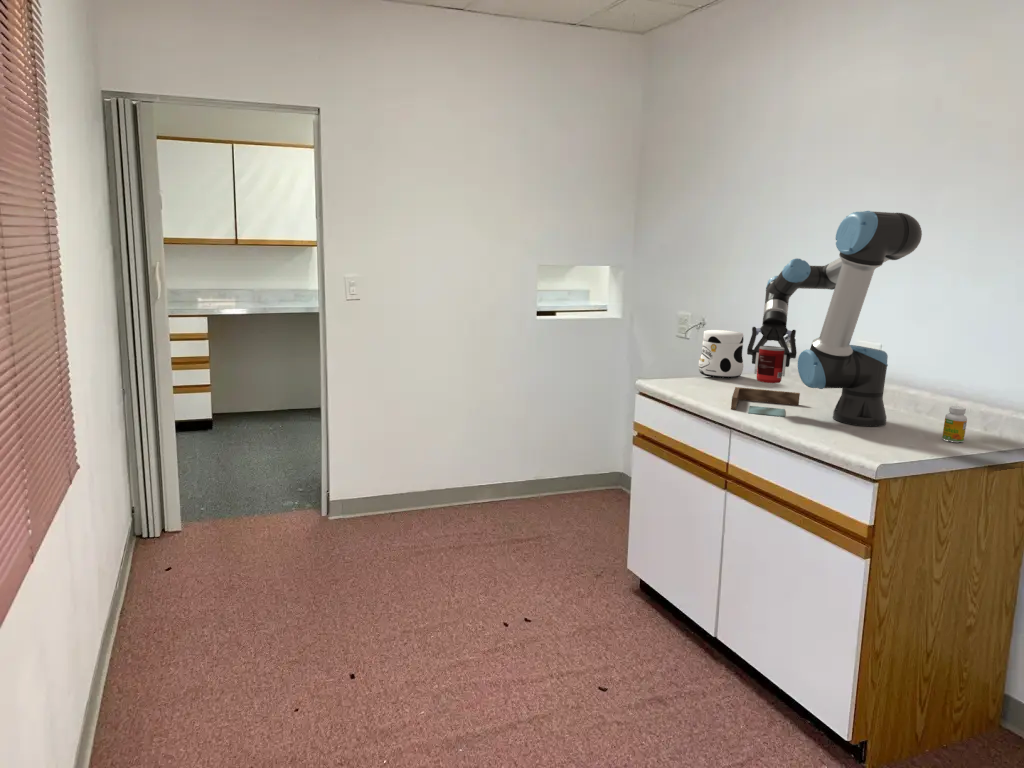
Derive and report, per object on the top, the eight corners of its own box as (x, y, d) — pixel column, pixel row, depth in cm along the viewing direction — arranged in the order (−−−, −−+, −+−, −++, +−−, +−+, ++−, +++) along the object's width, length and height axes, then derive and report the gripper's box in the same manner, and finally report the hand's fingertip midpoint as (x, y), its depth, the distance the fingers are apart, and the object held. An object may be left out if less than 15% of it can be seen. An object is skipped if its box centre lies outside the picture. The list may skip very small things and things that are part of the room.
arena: (798, 404, 259) (799, 392, 258) (799, 418, 238) (801, 406, 237) (734, 398, 265) (735, 386, 264) (730, 411, 244) (731, 399, 244)
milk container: (689, 375, 307) (692, 331, 303) (713, 371, 318) (717, 328, 315) (726, 382, 294) (730, 336, 291) (750, 378, 306) (754, 333, 302)
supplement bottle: (939, 440, 217) (944, 407, 215) (945, 437, 220) (950, 404, 218) (960, 444, 213) (965, 410, 211) (966, 441, 216) (971, 408, 215)
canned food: (777, 380, 248) (781, 346, 246) (784, 384, 240) (787, 349, 239) (753, 378, 249) (757, 345, 247) (759, 382, 241) (762, 347, 239)
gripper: (807, 326, 252) (802, 382, 241) (742, 321, 259) (735, 376, 247) (809, 311, 246) (805, 368, 235) (743, 307, 253) (736, 362, 241)
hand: (769, 372), depth 241 cm, fingers closed on canned food, 8 cm apart
